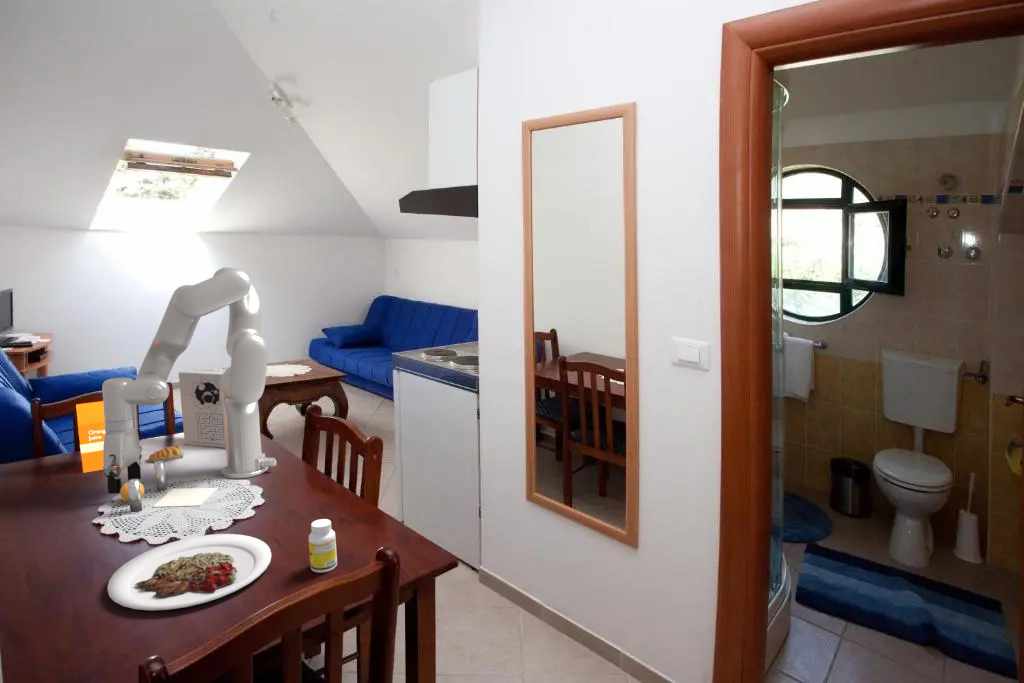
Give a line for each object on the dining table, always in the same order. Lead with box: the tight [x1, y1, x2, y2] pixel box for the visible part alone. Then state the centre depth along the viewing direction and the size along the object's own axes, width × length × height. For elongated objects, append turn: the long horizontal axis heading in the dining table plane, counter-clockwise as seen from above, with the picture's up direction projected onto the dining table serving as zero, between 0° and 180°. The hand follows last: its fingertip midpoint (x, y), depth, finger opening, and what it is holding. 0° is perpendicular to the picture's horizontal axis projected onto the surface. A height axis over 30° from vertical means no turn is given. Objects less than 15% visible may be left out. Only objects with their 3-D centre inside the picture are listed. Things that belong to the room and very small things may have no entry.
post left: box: [126, 479, 143, 513], centre depth 162 cm, size 3×3×8 cm
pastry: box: [148, 444, 185, 463], centre depth 202 cm, size 9×7×4 cm
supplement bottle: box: [308, 518, 338, 574], centre depth 134 cm, size 5×5×10 cm
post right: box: [153, 461, 168, 493], centre depth 176 cm, size 3×3×8 cm
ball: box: [119, 482, 145, 503], centre depth 169 cm, size 6×6×6 cm
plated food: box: [107, 533, 272, 611], centre depth 132 cm, size 30×30×3 cm
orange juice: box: [75, 400, 119, 474], centre depth 194 cm, size 8×9×20 cm
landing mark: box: [151, 487, 219, 508], centre depth 171 cm, size 12×12×1 cm
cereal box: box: [178, 367, 228, 449], centre depth 215 cm, size 22×8×25 cm, turn 77°
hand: (125, 486), depth 173 cm, fingers open, 9 cm apart
